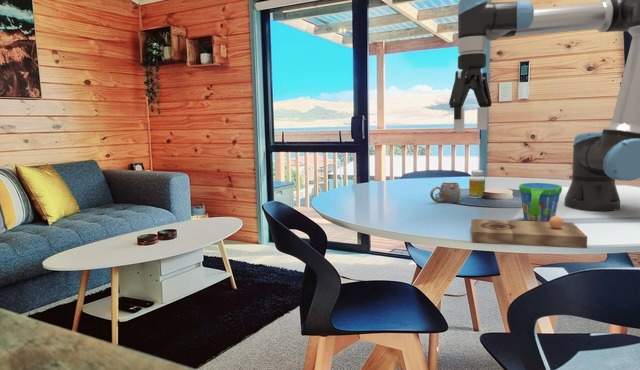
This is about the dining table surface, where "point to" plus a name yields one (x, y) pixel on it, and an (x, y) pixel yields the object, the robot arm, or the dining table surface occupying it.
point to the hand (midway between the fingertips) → (471, 130)
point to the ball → (556, 222)
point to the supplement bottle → (476, 184)
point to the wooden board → (527, 233)
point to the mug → (447, 193)
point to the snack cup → (539, 200)
